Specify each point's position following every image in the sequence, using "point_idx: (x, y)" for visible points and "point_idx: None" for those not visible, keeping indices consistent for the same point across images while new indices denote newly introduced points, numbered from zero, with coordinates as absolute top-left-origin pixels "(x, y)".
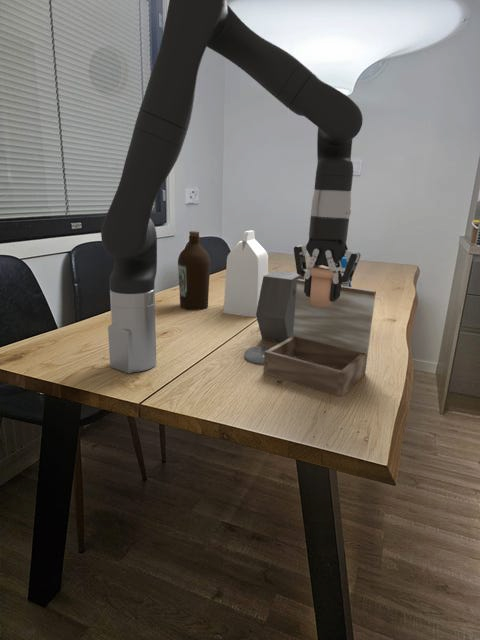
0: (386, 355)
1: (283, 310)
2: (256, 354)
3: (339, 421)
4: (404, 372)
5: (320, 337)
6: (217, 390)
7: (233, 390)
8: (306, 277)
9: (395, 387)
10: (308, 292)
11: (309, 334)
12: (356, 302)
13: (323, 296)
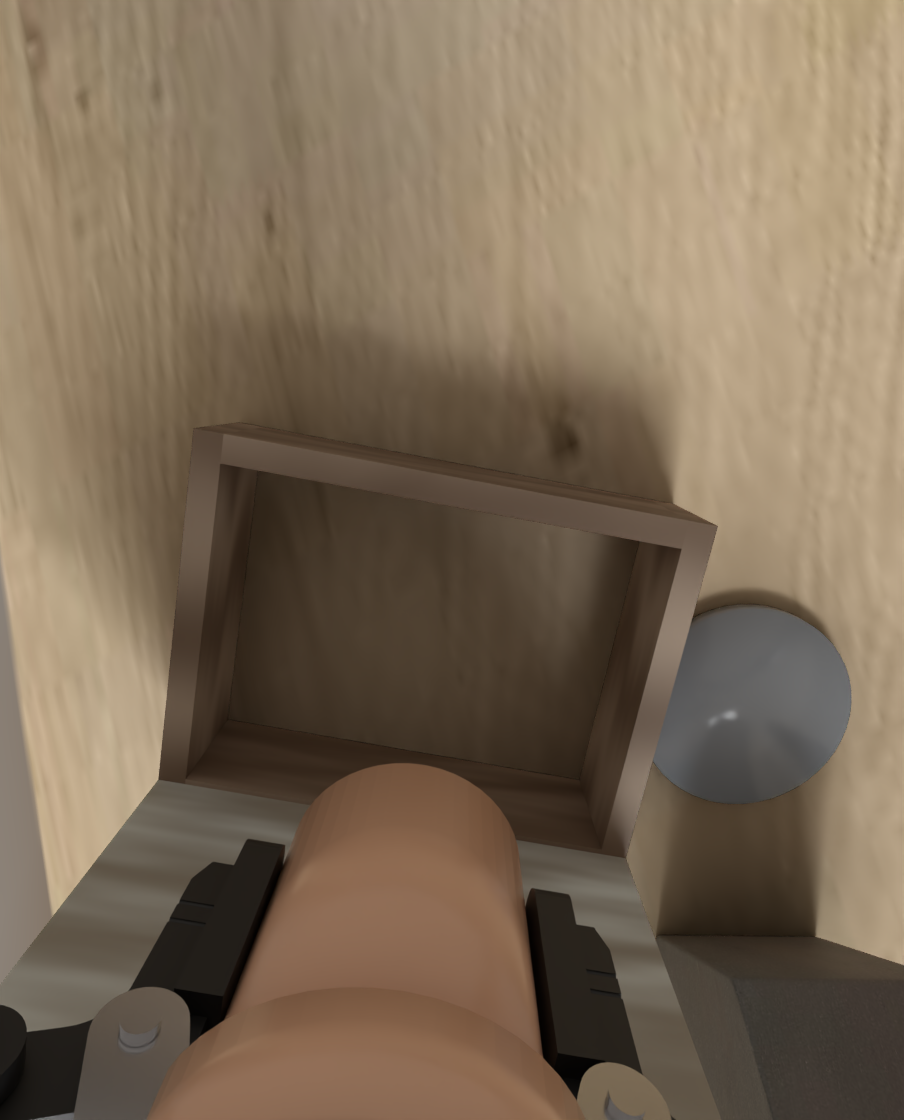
0: None
1: (774, 1048)
2: (776, 684)
3: (182, 159)
4: (41, 836)
5: None
6: (834, 180)
7: (754, 223)
8: (623, 1079)
9: (40, 647)
10: (544, 918)
11: (521, 864)
12: None
13: (342, 836)
